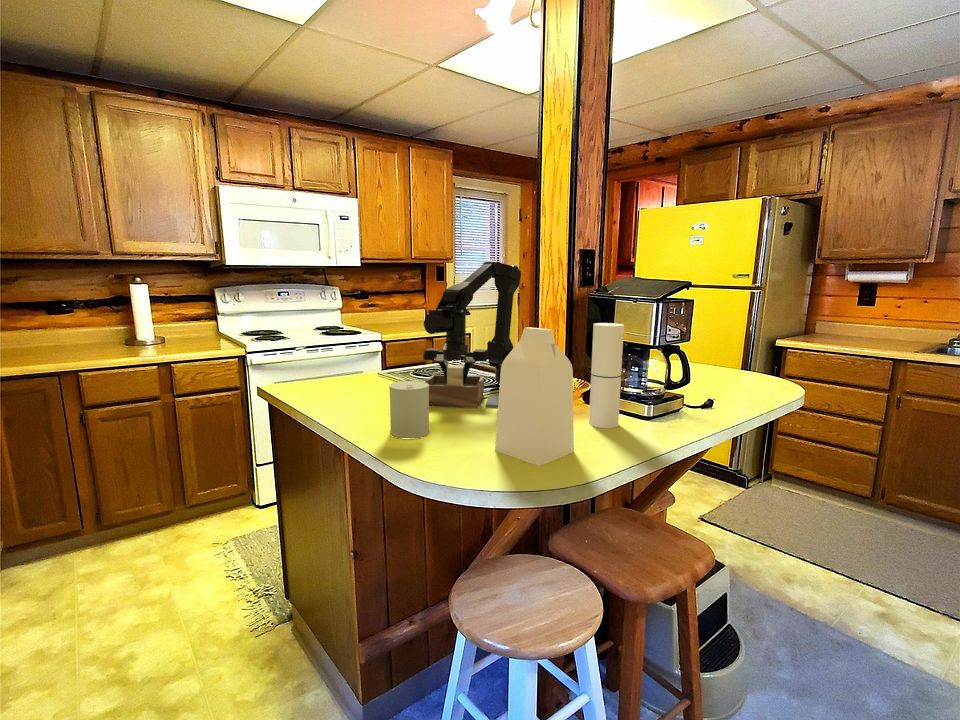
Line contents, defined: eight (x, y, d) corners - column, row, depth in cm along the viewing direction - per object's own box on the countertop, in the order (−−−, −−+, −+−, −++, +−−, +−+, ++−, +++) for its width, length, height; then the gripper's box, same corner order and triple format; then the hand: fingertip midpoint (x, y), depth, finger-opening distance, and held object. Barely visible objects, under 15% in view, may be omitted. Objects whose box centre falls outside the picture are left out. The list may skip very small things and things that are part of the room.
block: (449, 384, 152) (449, 365, 151) (464, 384, 151) (464, 365, 150) (447, 387, 147) (446, 367, 146) (462, 388, 147) (462, 368, 146)
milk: (494, 450, 105) (496, 328, 101) (529, 438, 113) (532, 324, 109) (539, 466, 97) (543, 333, 92) (573, 451, 105) (579, 329, 100)
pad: (489, 396, 151) (489, 394, 151) (516, 397, 150) (516, 395, 150) (485, 407, 139) (485, 404, 139) (514, 408, 138) (514, 405, 138)
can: (392, 441, 111) (390, 388, 109) (388, 428, 119) (387, 379, 117) (433, 437, 113) (432, 386, 111) (426, 426, 122) (425, 378, 120)
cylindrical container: (587, 426, 122) (592, 325, 118) (590, 418, 129) (594, 322, 125) (617, 429, 120) (623, 326, 116) (618, 421, 127) (624, 323, 123)
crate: (432, 393, 155) (432, 374, 154) (483, 395, 153) (483, 376, 152) (421, 406, 140) (421, 385, 139) (477, 408, 138) (477, 387, 137)
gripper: (418, 333, 140) (419, 388, 142) (484, 335, 137) (483, 390, 140) (427, 329, 151) (427, 379, 153) (488, 330, 148) (487, 381, 151)
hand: (455, 383), depth 149 cm, fingers closed on block, 5 cm apart
